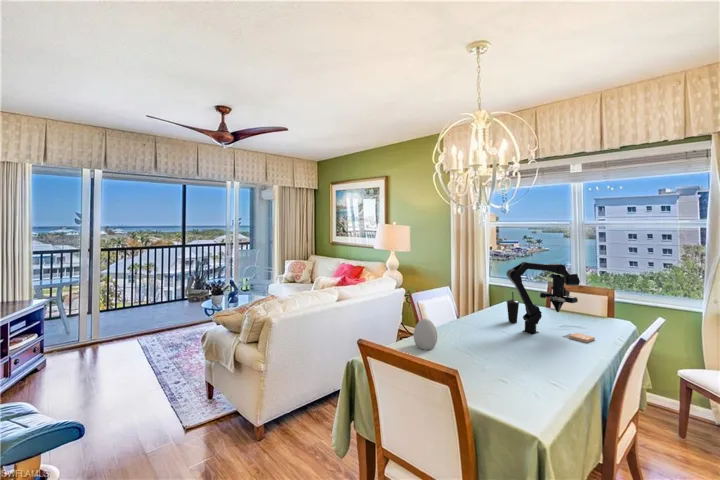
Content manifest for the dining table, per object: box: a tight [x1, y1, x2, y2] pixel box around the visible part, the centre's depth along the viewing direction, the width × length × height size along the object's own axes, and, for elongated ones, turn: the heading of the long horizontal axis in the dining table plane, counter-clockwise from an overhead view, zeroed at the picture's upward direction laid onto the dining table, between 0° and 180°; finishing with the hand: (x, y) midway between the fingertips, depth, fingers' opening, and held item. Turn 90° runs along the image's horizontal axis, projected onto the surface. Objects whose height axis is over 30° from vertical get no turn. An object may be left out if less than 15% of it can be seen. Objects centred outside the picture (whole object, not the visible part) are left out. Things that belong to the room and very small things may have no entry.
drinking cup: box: [506, 291, 520, 324], centre depth 215 cm, size 8×8×20 cm
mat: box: [562, 333, 596, 344], centre depth 182 cm, size 9×13×1 cm
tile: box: [568, 332, 596, 344], centre depth 181 cm, size 8×2×9 cm
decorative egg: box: [413, 318, 438, 351], centre depth 174 cm, size 12×12×15 cm
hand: (557, 312), depth 192 cm, fingers closed
